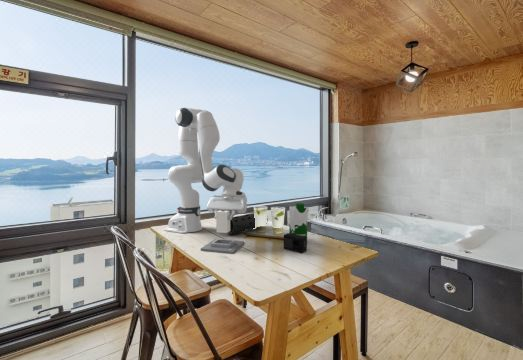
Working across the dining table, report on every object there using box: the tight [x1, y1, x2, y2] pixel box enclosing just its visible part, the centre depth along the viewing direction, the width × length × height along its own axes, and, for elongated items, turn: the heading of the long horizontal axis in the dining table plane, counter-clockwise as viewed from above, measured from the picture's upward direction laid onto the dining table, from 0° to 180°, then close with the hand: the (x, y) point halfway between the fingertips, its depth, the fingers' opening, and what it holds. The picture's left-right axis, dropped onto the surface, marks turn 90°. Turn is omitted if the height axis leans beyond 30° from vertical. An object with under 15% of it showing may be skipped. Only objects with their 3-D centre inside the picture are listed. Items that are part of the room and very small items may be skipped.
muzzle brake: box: [227, 212, 269, 236], centre depth 163 cm, size 10×28×10 cm, turn 136°
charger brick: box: [215, 210, 231, 234], centre depth 133 cm, size 6×4×10 cm
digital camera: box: [283, 232, 308, 254], centre depth 130 cm, size 10×5×7 cm, turn 52°
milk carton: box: [288, 202, 309, 238], centre depth 143 cm, size 9×9×20 cm
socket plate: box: [200, 238, 245, 255], centre depth 134 cm, size 16×16×2 cm
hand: (222, 218), depth 133 cm, fingers closed on charger brick, 5 cm apart
